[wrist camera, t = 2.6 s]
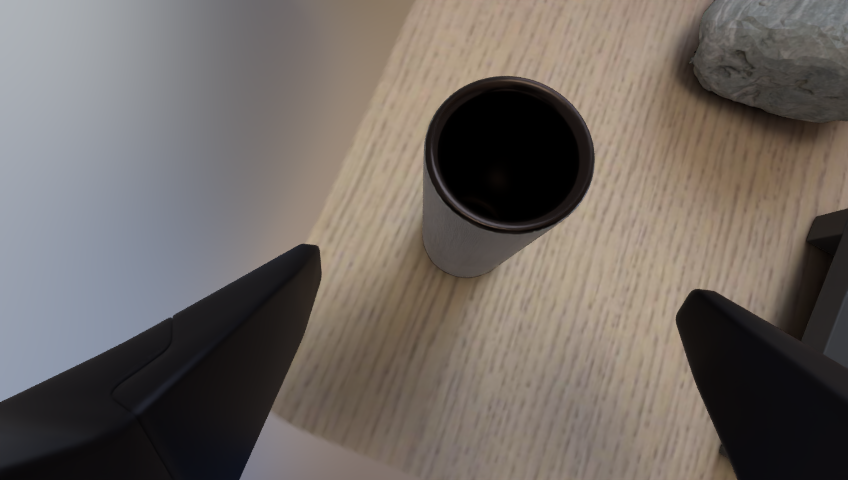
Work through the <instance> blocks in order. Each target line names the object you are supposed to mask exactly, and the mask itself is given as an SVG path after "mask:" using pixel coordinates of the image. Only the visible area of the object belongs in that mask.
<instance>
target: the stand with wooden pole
mask: <svg viewBox="0 0 848 480" xmlns="http://www.w3.org/2000/svg"><path fill="white" fill-rule="evenodd" d="M807 241H808V242H809V243H811V244H813V245H815V246H817V247H819V248H821V249H822V250H824V251H826V252H828V253H830V254H832V255H834V258H833V261H832V263H831V266H830V269H829V271H828V274H827V276H826V279H825V281H824V284H823V286H822V289H821V291H820V294H819V297H818V299H817V302H816V304H815V307H814V309H813V312H812V314H811V317H810V319H809V322H808V325H807V327H806V330H805V332H804V335H803V337H802V340H801V342H803V343H805V344H806V345H808V346H810V347H812V348H813V349H815V350H817V351H819V352H820V353H822V354H824V355H825V356H827V357H829V358H831V359H832V360H834V361H836V362H837V363H839V364H841V365H843V366H844V367H846V368H848V209H844V210H840V211H836V212H832V213H828V214H825V215H821V216H817V217H816V219H815V221H814V223H813V226H812V228H811V231H810V233H809V236H808V238H807ZM720 453H721V454H722V455H724V456H725V457H727V458H728V456H727V454H726V452H725V449H724V447H723V445H722V447H721V449H720ZM728 459H729V458H728Z"/></svg>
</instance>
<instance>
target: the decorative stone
mask: <svg viewBox="0 0 848 480" xmlns="http://www.w3.org/2000/svg"><path fill="white" fill-rule="evenodd" d="M699 41H700V44H699V46H698V48H697V51H695V52H694V53H696V55H695V56H694V57H692V58H691V59H690V60H691V62H689V63H692V64H693V65H694V70H693V72H694V73H695V75H696V77H698V80H699V82H700V84H701V85H702V86H703V88H705V89H707V91H708V90H709V91H713V92H714V94H715V93H716V94H718V95H720V96H722V97H724V98H728V99H731V100H733V101H737V102H741V103H744V104H746V105H748V106H751V107H758V108H762V109H763V110H765V112H768V113H772V114H777V115H779V116H781V117H782V116H784V117H787V118H791V119H792V118H793V119H799V120H804V121H810V122H815V123H825V122H829V121H834V120H842V121H848V0H715V1H714V2H713V3H712V4H711V5H710V7H709V8H708V9H707V10H706V11H705V13H704V14H703V17H702V20H701V23H700V26H699ZM716 94H715V95H716Z"/></svg>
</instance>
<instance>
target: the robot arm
mask: <svg viewBox="0 0 848 480" xmlns="http://www.w3.org/2000/svg"><path fill="white" fill-rule="evenodd" d="M321 274H322V272H321V259H320V250H319V247H318V246H317V245H310V244H300V245H298V246H296V247H294V248H293V249H291V250H289V251H287V252H286V253H284V254H282V255H280V256H278V257H277V258H275V259H273V260H271V261H270V262H268V263H266V264H264V265H262V266H261V267H259V268H257V269H255V270H253V271H252V272H250V273H248V274H246V275H245V276H243V277H241V278H239V279H237V280H236V281H234V282H232V283H230V284H228V285H227V286H225V287H223V288H221V289H220V290H218V291H216V292H214V293H213V294H211V295H209V296H207V297H205V298H204V299H202V300H200V301H198V302H196V303H195V304H193V305H191V306H189V307H187V308H186V309H184V310H182V311H180V312H179V313H177V314H175V315H174V316H173V318H168V319H166V320H164V321H162V322H161V323H159V324H157V325H155V326H153V327H152V328H150V329H148V330H146V331H144V332H142V333H140V334H139V335H137V336H135V337H133V338H131V339H129V340H127V341H126V342H124V343H122V344H120V345H118V346H116V347H114V348H112V349H110V350H108V351H106V352H104V353H102V354H100V355H98V356H96V357H94V358H92V359H90V360H87V361H85V362H83V363H81V364H79V365H77V366H75V367H73V368H71V369H69V370H67V371H65V372H62V373H60V374H58V375H56V376H54V377H52V378H50V379H48V380H46V381H44V382H42V383H39V384H38V385H35V386H33V387H31V388H29V389H27V390H25V391H23V392H21V393H19V394H17V395H14V396H12V397H10V398H8V399H6V400H4V401H2V402H0V480H239V479H240V477H241V474H242V472H243V470H244V468H245V466H246V463H247V461H248V459H249V457H250V455H251V452H252V450H253V448H254V446H255V443H256V441H257V439H258V437H259V434H260V432H261V430H262V428H263V426H264V423H265V421H266V419H267V417H268V414H269V412H270V410H271V408H272V405H273V403H274V401H275V399H276V397H277V394H278V392H279V390H280V388H281V385H282V383H283V381H284V379H285V376H286V374H287V372H288V370H289V367H290V365H291V363H292V361H293V359H294V356H295V354H296V352H297V350H298V347H299V345H300V343H301V340H302V338H303V336H304V333H305V330H306V327H307V324H308V320H309V317H310V314H311V311H312V307H313V304H314V301H315V298H316V294H317V291H318V288H319V285H320V281H321ZM676 324H677V328H678V331H679V334H680V337H681V340H682V343H683V346H684V350H685V353H686V356H687V359H688V362H689V365H690V368H691V372H692V374H693V377H694V380H695V383H696V385H697V388H698V390H699V392H700V395H701V397H702V399H703V402H704V404H705V406H706V408H707V411H708V413H709V415H710V417H711V420H712V422H713V424H714V427H715V429H716V431H717V433H718V436H719V438H720V440H721V443H722V445H723V447H724V449H725V452H726V454H727V456H728V458H729V461H730V463H731V465H732V468H733V470H734V472H735V474H736V477H737V479H738V480H848V368H846V367H844V366H843V365H841V364H839V363H837V362H836V361H834V360H832V359H831V358H829V357H827V356H825V355H824V354H822V353H820V352H819V351H817V350H815V349H813V348H812V347H810V346H808V345H806V344H805V343H803V342H801V341H800V340H798V339H796V338H794V337H793V336H791V335H789V334H787V333H786V332H784V331H782V330H781V329H779V328H777V327H775V326H774V325H772V324H770V323H768V322H767V321H765V320H763V319H762V318H760V317H758V316H756V315H755V314H753V313H751V312H750V311H748V310H746V309H744V308H743V307H741V306H739V305H737V304H736V303H734V302H732V301H731V300H729V299H727V298H725V297H724V296H722V295H720V294H718V293H717V292H715V291H711V290H702V289H695V290H693V291H691V292H690V293H689V295H688V297H687V298H686V300H685V301H684V303H683V305H682V306H681V308H680V309H679V311H678V313H677V315H676Z"/></svg>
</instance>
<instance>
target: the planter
mask: <svg viewBox="0 0 848 480" xmlns="http://www.w3.org/2000/svg"><path fill="white" fill-rule="evenodd" d="M594 163H595V156H594V147H593V142H592V138H591V135H590V132H589V130H588V127H587V125H586V123H585V121H584V120H583V118H582V116H581V115H580V114H579V112H578V111H577V110H576V108H575V107H574V106H573V105H572V104H571V103H570V102H569V101H568V100H567V99H566V98H565V97H563V96H562V95H561V94H559V93H558V92H557V91H555V90H553V89H552V88H550V87H548V86H546V85H544V84H542V83H539V82H537V81H534V80H530V79H526V78H521V77H514V76H498V77H490V78H485V79H481V80H478V81H475V82H473V83H470V84H468V85H466V86H464V87H462V88H461V89H459V90H458V91H456V92H455V93H453V94H452V95H451V96H450V97H449V98H448V99H447V100H445V101H444V103H443V104H442V105H441V106H440V107H439V109H438V110H437V111H436V113H435V115H434V116H433V118H432V120H431V122H430V125H429V127H428V130H427V134H426V138H425V144H424V168H423V227H422V235H423V242H424V246H425V249H426V251H427V254H428V255H429V257H430V259H431V260H432V261H433V262H434V264H435V265H436V266H437V267H439V268H440V269H441V270H443V271H445V272H446V273H448V274H451V275H454V276H457V277H476V276H480V275H482V274H485V273H487V272H489V271H491V270H493V269H494V268H495V267H497V266H498V265H500V264H501V263H503V262H504V261H506V260H507V259H508V258H510V257H511V256H513V255H514V254H516V253H517V252H519V251H520V250H521V249H523V248H524V247H526V246H527V245H529V244H530V243H532V242H533V241H534V240H536V239H537V238H539V237H540V236H542V235H543V234H544V233H546V232H547V231H549V230H550V229H552V228H553V227H555V226H556V225H557V224H559V223H560V222H562V221H563V220H564V219H565V218H567V217H568V216H569V215H570V214H571V213H572V212H573V211H574V210H575V209H576V208H577V207H578V206H579V204H580V203H581V202H582V200H583V199H584V197H585V195H586V193H587V191H588V189H589V187H590V184H591V181H592V177H593V173H594Z"/></svg>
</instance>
